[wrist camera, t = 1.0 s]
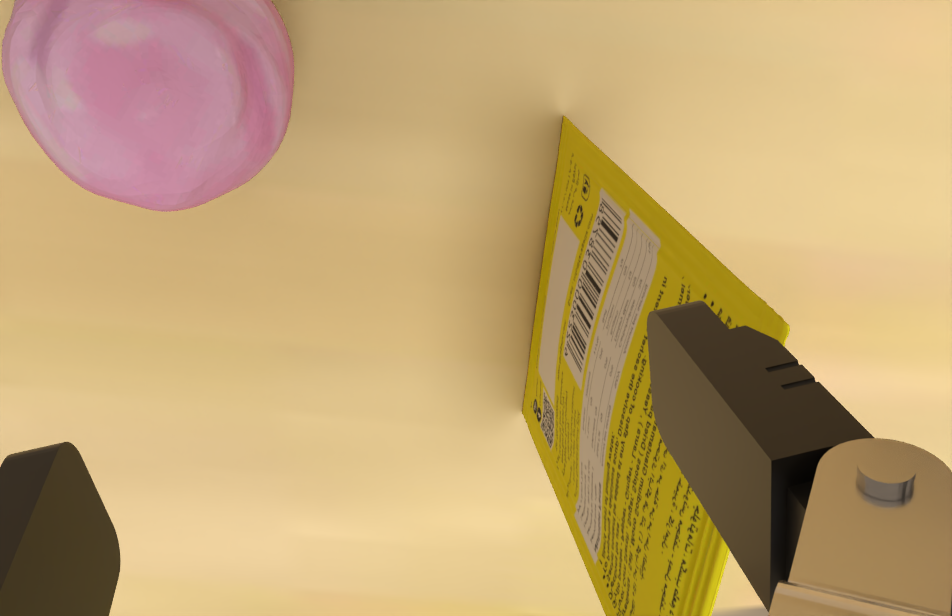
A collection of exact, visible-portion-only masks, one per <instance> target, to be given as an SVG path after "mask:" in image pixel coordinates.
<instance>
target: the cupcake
mask: <svg viewBox="0 0 952 616" xmlns="http://www.w3.org/2000/svg"><path fill="white" fill-rule="evenodd" d="M2 70H3V74H4V79H5V83H6V85H7V88H8V90H9V92H10V95H11V97H12V99H13V101H14V103H15V105H16V107H17V109H18V111H19V113H20V115H21V117H22V119H23V121H24V123H25V125H26V126H27V128H28V130H29V131H30V133H31V135H32V136H33V137H34V139H35V140H36V141H37V143H38V144H39V145H40V147H41V148H42V149H43V150H44V152H45V153H46V154H47V156H48V157H49V158H50V159H51V160H52V161H53V162H54V163H55V165H56V166H57V167H58V168H59V169H60V170H61V171H62V172H63V173H64V174H65V175H67V176H68V177H69V178H70V179H71V180H72V181H74V182H75V183H77V184H78V185H80V186H81V187H83V188H84V189H86V190H88V191H90V192H92V193H94V194H97V195H100V196H103V197H106V198H109V199H113V200H117V201H120V202H124V203H128V204H132V205H135V206H139V207H142V208H146V209H150V210H155V211H178V210H184V209H188V208H192V207H196V206H198V205H201V204H204V203H206V202H208V201H210V200H213V199H215V198H217V197H219V196H221V195H223V194H225V193H227V192H229V191H231V190H233V189H235V188H238V187H239V186H241V185H243V184H244V183H246V182H248V181H249V180H250V179H251V178H253V177H254V176H255V175H256V174H257V173H258V172H259V171H260V170H261V169H262V168H263V167H264V166H265V165H266V164H267V163H268V162H269V160H270V159H271V158H272V156H273V155H274V154H275V152H276V151H277V150H278V148H279V146H280V144H281V142H282V140H283V138H284V136H285V133H286V130H287V126H288V123H289V119H290V114H291V105H292V97H293V84H294V58H293V51H292V47H291V42H290V39H289V36H288V33H287V30H286V27H285V25H284V23H283V20H282V18H281V16H280V14H279V13H278V11H277V9H276V7H275V6H274V4H273V3H272V1H271V0H15V2H14V7H13V11H12V15H11V19H10V21H9V23H8V25H7V28H6V30H5V36H4V39H3V42H2Z"/></svg>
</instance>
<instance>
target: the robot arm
mask: <svg viewBox="0 0 952 616" xmlns="http://www.w3.org/2000/svg"><path fill="white" fill-rule="evenodd" d="M647 337H648V352H649V366H650V381H651V396H652V406H653V412H654V417H655V421H656V424H657V428H658V430H659V433H660V436H661V438H662V440H663V443H664V444H665V446H666V448H667V449H668V451H669V453H670V454H671V456H672V457H673V459H674V461H675V462H676V464H677V466H678V467H679V469H680V470H681V472H682V474H683V475H684V477H685V478H686V480H687V482H688V483H689V485H690V487H691V488H692V490H693V491H694V493H695V495H696V496H697V498H698V499H699V501H700V503H701V504H702V506H703V507H704V509H705V511H706V512H707V514H708V516H709V517H710V519H711V520H712V522H713V524H714V525H715V527H716V528H717V530H718V532H719V533H720V535H721V536H722V538H723V540H724V541H725V543H726V545H727V546H728V548H729V549H730V551H731V553H732V554H733V556H734V557H735V559H736V561H737V562H738V564H739V565H740V567H741V569H742V570H743V572H744V574H745V575H746V577H747V578H748V580H749V582H750V583H751V585H752V586H753V588H754V590H755V591H756V593H757V595H758V596H759V598H760V599H761V601H762V603H763V604H764V606H765V607H766V609H767V611H768V612H769V614H768V616H952V472H951V470H950V469H949V467H948V466H947V465H946V464H945V463H944V462H943V461H941V460H940V459H939V458H937V457H936V456H935V455H933V454H931V453H929V452H928V451H926V450H924V449H921V448H919V447H917V446H914V445H911V444H908V443H905V442H900V441H896V440H890V439H881V438H874V437H873V436H872V435H871V434H870V433H869V432H868V431H867V430H866V429H865V428H864V427H863V426H862V425H861V424H860V423H859V422H858V421H857V420H856V419H855V418H854V417H853V416H852V415H851V414H850V413H849V412H848V411H847V410H846V409H845V408H844V407H843V406H842V405H841V404H840V403H839V402H838V401H837V400H836V399H835V398H834V397H833V396H832V395H831V394H830V393H829V392H828V391H827V390H826V389H825V388H824V387H823V386H822V385H821V384H820V383H819V382H815V378H814V376H813V375H812V374H811V373H810V372H809V371H808V370H807V369H806V368H805V367H804V366H803V365H799V364H798V360H797V359H796V358H795V357H794V356H793V355H792V354H791V353H790V352H789V351H788V350H787V349H786V348H785V347H784V346H783V345H782V344H781V343H780V342H779V341H778V340H776V339H774V338H772V337H770V336H768V335H766V334H763V333H761V332H759V331H757V330H755V329H753V328H750V327H748V326H746V325H745V326H741V327H736V328H732V329H729V328H728V327H727V326H726V325H725V324H724V323H723V322H722V321H721V319H720V318H719V317H718V316H717V315H716V314H715V313H714V312H713V311H712V310H711V308H710V307H709V306H708V305H707V304H706V303H705V302H703V301H701V300H698V301H694V302H690V303H685V304H681V305H676V306H672V307H668V308H663V309H659V310H654V311H651V312H649V314H648V317H647ZM119 572H120V549H119V543H118V538H117V535H116V531H115V529H114V526H113V524H112V522H111V520H110V517H109V515H108V513H107V511H106V509H105V507H104V504H103V502H102V500H101V498H100V496H99V494H98V491H97V489H96V487H95V485H94V483H93V481H92V479H91V476H90V474H89V472H88V470H87V468H86V466H85V463H84V461H83V459H82V457H81V455H80V453H79V451H78V450H77V448H76V447H75V446H74V445H73V444H71V443H69V442H63V443H59V444H54V445H50V446H45V447H41V448H37V449H32V450H28V451H23V452H19V453H14V454H10V455H8V456H7V457H6V458H5V460H4V461H3V463H2V465H1V467H0V616H109V613H110V609H111V605H112V601H113V597H114V593H115V589H116V585H117V581H118V577H119Z"/></svg>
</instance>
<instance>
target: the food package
mask: <svg viewBox="0 0 952 616" xmlns="http://www.w3.org/2000/svg"><path fill="white" fill-rule="evenodd" d="M698 300H701V301H703V302H705V303H706V304H707V305H708V306H709V307H710V308H711V310H712V311H713V312H714V313H715V314H716V315H717V316H718V317H719V318H720V319H721V321H722V322H723V323H724V324H725V325H726V326H727V327H728V328H729V329H732V328H736V327H741V326H745V325H746V326H748V327H750V328H753V329H755V330H757V331H759V332H761V333H763V334H766V335H768V336H770V337H772V338H774V339H776V340H778V341H779V342H780V343H781V344H782V345H783V346H784V347H785V341H786V339H787V337H788V334H789V331H790V327H789V325H788V324H787V323H786V322H785V321H784V320H783V318H782V317H781V316H780V315H778V314H777V313H776V312H775V311H774V309H772V308H771V307H769V306H768V305H767V303H766V302H765V301H764V300H762V299H761V298H760V297H758V296H757V295H756V294H755V293H754V292H753V291H752V290H750V289H749V288H748V287H747V286H746V285H745V284H744V283H743V282H742V281H741V280H739V279H738V278H737V277H736V276H735V275H734V274H733V273H732V272H731V271H730V270H729V269H728V268H727V267H725V266H724V265H723V264H722V263H721V262H720V261H719V260H718V259H717V258H716V257H715V256H714V255H713V254H712V253H711V252H709V251H708V250H707V249H706V248H705V247H704V246H703V245H702V244H701V243H700V242H699V241H698V240H697V239H696V238H695V237H693V236H692V235H691V234H690V233H689V232H688V231H687V230H686V229H685V228H684V227H683V226H682V225H681V224H680V223H678V222H677V221H676V220H675V219H674V218H673V217H672V216H671V215H670V214H669V213H668V212H667V211H666V210H665V209H663V208H662V207H661V206H660V205H659V204H658V203H657V202H656V201H655V200H654V199H653V198H652V197H651V196H649V195H648V194H647V193H646V192H645V191H644V190H643V189H642V188H641V187H640V186H639V185H638V184H637V183H635V182H634V181H633V180H632V179H631V178H630V177H629V176H628V175H627V174H626V173H625V172H624V171H623V170H622V169H620V168H619V167H618V166H617V165H616V164H615V163H614V162H613V161H612V160H611V159H610V158H609V157H608V156H606V155H605V154H604V153H603V152H602V151H601V150H600V149H599V148H598V147H597V146H596V145H594V144H593V143H592V142H591V141H590V140H589V139H588V138H587V137H586V136H585V135H584V134H583V133H581V132H580V131H579V130H578V129H577V128H576V127H575V126H574V125H573V124H572V122H571V121H569V119H567V118H566V117H565V116H563V123H562V132H561V136H560V144H559V153H558V161H557V168H556V174H555V180H554V186H553V193H552V199H551V205H550V212H549V219H548V226H547V233H546V240H545V247H544V255H543V262H542V269H541V276H540V283H539V291H538V298H537V305H536V312H535V319H534V327H533V334H532V342H531V350H530V358H529V367H528V376H527V383H526V387H525V394H524V402H523V410H522V414H523V415H524V418H525V420H526V423H527V425H528V428H529V431H530V434H531V436H532V439H533V441H534V444H535V446H536V448H537V451H538V453H539V456H540V458H541V460H542V463H543V465H544V467H545V470H546V472H547V475H548V477H549V479H550V482H551V484H552V487H553V489H554V491H555V494H556V496H557V499H558V501H559V503H560V506H561V508H562V511H563V513H564V515H565V518H566V520H567V523H568V525H569V528H570V530H571V532H572V535H573V537H574V540H575V542H576V544H577V547H578V549H579V552H580V554H581V557H582V559H583V561H584V564H585V566H586V569H587V571H588V573H589V576H590V578H591V581H592V583H593V585H594V588H595V590H596V593H597V595H598V598H599V600H600V602H601V605H602V607H603V610H604V612H605V614H606V616H711V614H712V611H713V607H714V604H715V600H716V597H717V593H718V590H719V586H720V583H721V579H722V576H723V572H724V569H725V565H726V562H727V558H728V555H729V551H730V549H729V548H728V546H727V545H726V543H725V541H724V540H723V538H722V536H721V535H720V533H719V532H718V530H717V528H716V527H715V525H714V524H713V522H712V520H711V519H710V517H709V516H708V514H707V512H706V511H705V509H704V507H703V506H702V504H701V503H700V501H699V499H698V498H697V496H696V495H695V493H694V491H693V490H692V488H691V487H690V485H689V483H688V482H687V480H686V478H685V477H684V475H683V474H682V472H681V470H680V469H679V467H678V466H677V464H676V462H675V461H674V459H673V457H672V456H671V454H670V453H669V451H668V449H667V448H666V446H665V444H664V443H663V440H662V438H661V436H660V433H659V430H658V428H657V424H656V421H655V417H654V412H653V406H652V396H651V381H650V366H649V352H648V337H647V317H648V314H649V312H651V311H654V310H659V309H663V308H668V307H672V306H676V305H681V304H685V303H690V302H694V301H698Z"/></svg>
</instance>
